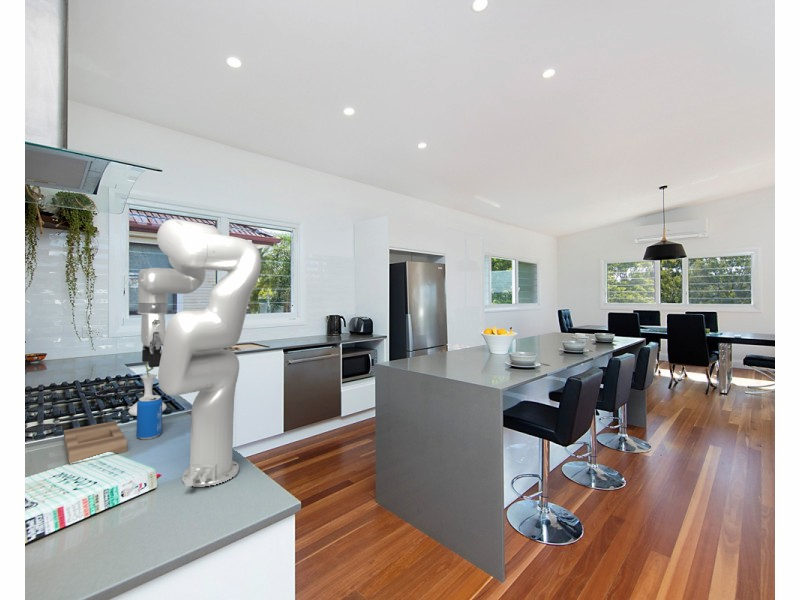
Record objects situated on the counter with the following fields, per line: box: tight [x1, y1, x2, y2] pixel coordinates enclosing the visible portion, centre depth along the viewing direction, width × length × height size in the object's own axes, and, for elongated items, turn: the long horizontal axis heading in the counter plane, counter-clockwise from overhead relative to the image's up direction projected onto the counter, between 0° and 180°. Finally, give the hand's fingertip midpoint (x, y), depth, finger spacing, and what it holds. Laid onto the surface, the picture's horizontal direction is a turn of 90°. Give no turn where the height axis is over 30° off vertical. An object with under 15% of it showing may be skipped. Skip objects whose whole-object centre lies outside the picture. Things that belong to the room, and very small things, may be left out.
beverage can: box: [135, 394, 163, 441], centre depth 113 cm, size 6×6×12 cm
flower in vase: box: [128, 362, 168, 417], centre depth 133 cm, size 13×11×25 cm
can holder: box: [63, 420, 128, 464], centre depth 105 cm, size 20×12×3 cm, turn 46°
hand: (151, 364), depth 113 cm, fingers open, 9 cm apart
